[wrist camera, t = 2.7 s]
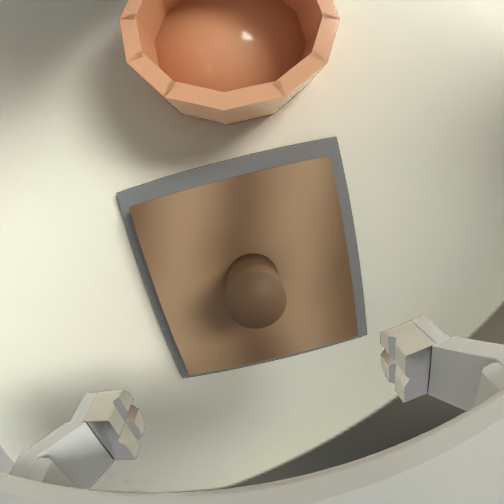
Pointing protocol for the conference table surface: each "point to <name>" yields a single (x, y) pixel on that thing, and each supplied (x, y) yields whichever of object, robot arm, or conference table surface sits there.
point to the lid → (251, 265)
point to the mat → (231, 170)
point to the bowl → (228, 52)
